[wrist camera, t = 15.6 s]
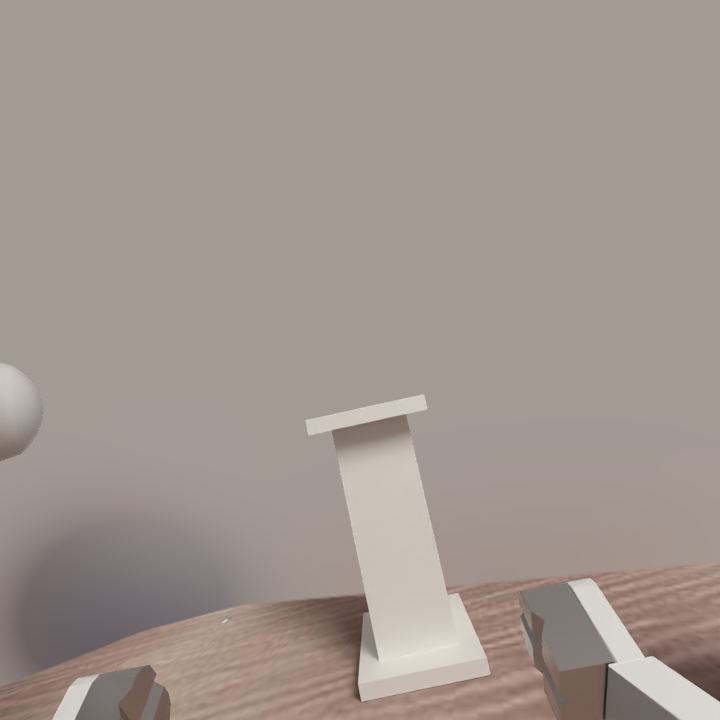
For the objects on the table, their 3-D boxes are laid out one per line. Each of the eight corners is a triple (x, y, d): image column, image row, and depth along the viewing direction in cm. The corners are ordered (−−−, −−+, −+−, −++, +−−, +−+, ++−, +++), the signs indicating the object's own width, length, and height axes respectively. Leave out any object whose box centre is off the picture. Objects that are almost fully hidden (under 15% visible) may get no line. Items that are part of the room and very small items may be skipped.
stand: (361, 701, 39) (305, 420, 42) (366, 625, 52) (323, 418, 56) (490, 675, 38) (424, 394, 42) (461, 605, 52) (412, 399, 56)
